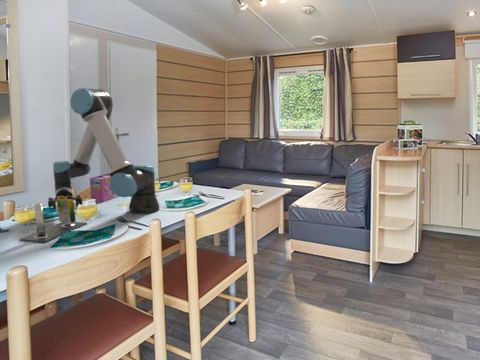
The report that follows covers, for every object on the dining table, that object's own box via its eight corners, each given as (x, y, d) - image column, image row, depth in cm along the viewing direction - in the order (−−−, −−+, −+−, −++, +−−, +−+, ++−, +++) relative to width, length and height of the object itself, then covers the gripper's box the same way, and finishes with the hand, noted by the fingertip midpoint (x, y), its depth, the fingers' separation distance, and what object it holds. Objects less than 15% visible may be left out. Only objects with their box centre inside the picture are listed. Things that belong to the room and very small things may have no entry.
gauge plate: (87, 224, 175) (87, 222, 175) (45, 243, 150) (45, 240, 150) (64, 222, 178) (64, 220, 178) (19, 240, 153) (19, 238, 153)
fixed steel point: (46, 235, 157) (43, 202, 155) (41, 237, 155) (38, 204, 152) (41, 234, 158) (37, 202, 156) (35, 236, 155) (32, 204, 153)
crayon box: (76, 221, 170) (73, 195, 168) (70, 223, 167) (67, 196, 165) (65, 220, 173) (62, 194, 171) (59, 221, 170) (56, 195, 169)
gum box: (115, 193, 243) (113, 172, 241) (126, 194, 241) (125, 172, 238) (90, 202, 220) (89, 178, 218) (103, 202, 218) (101, 178, 216)
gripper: (86, 202, 191) (90, 212, 170) (42, 206, 183) (41, 218, 162) (85, 186, 190) (89, 196, 169) (40, 190, 181) (39, 200, 161)
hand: (66, 206), depth 166 cm, fingers closed on crayon box, 6 cm apart
